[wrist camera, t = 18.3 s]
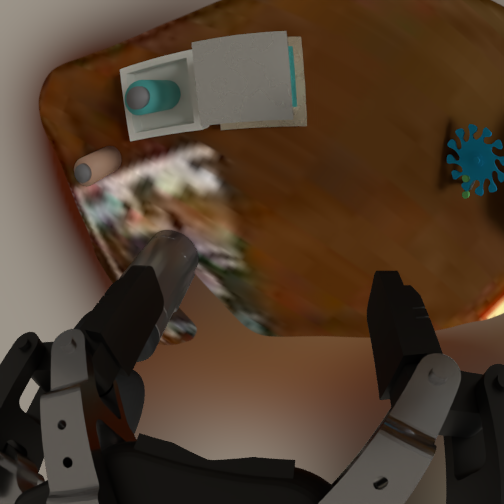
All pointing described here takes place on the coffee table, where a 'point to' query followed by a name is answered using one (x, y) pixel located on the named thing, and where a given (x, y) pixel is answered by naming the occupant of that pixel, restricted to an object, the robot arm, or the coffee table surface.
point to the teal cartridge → (151, 96)
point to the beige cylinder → (97, 165)
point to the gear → (475, 161)
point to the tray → (173, 119)
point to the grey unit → (250, 81)
